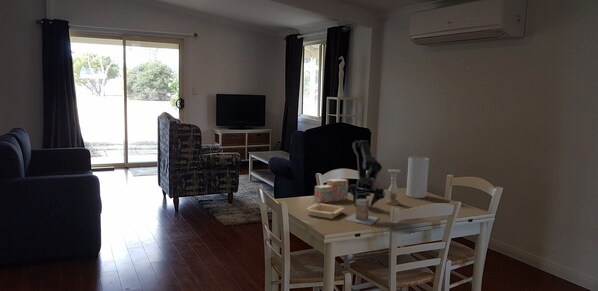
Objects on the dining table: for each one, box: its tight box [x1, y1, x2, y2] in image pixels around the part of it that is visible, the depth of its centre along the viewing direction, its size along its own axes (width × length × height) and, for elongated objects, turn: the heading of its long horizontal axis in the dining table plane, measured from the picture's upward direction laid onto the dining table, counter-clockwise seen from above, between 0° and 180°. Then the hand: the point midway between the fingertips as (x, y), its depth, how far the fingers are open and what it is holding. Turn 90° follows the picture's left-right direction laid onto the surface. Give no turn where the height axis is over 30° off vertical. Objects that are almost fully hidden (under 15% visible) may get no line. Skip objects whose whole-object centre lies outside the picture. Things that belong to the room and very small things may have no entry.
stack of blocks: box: [313, 178, 349, 204], centre depth 276 cm, size 21×6×12 cm, turn 125°
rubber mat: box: [344, 213, 380, 226], centre depth 235 cm, size 14×14×1 cm
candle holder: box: [384, 168, 402, 206], centre depth 272 cm, size 9×9×20 cm
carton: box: [305, 203, 345, 219], centre depth 242 cm, size 17×17×4 cm
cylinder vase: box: [406, 156, 430, 199], centre depth 292 cm, size 12×12×25 cm
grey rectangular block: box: [355, 198, 370, 220], centre depth 235 cm, size 5×5×10 cm
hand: (362, 204), depth 234 cm, fingers open, 9 cm apart
